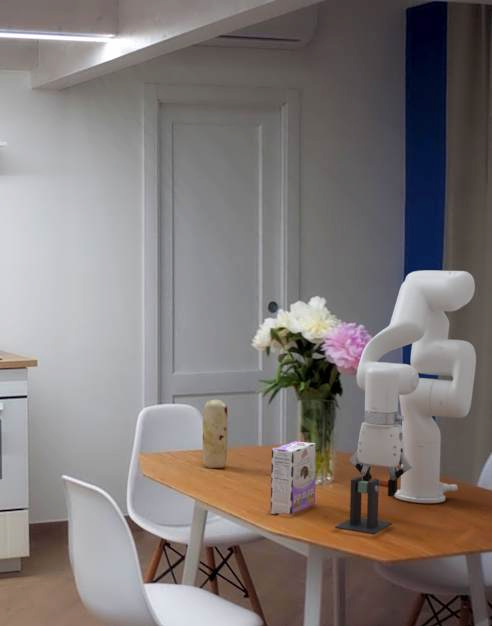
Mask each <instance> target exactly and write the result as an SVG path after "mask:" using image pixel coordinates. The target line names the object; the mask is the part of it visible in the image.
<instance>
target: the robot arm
mask: <svg viewBox="0 0 492 626" xmlns="http://www.w3.org/2000/svg"><path fill="white" fill-rule="evenodd" d="M475 283H476V282H475V279H474V277H473V275H472V274H471V273H469V271H465V270H437V269H436V270H434V269H433V270H432V269H431V270H427V269H426V270H425V269H424V270H415V271H411V272H410V273H408V274H407V275H406V276H405V279H404V281H403V282H402V284H401V285H400V288H399V291H398V294H397V297H396V302H395V304H394V308H393V311H392V315H391V318H390V323H389V324H388V326H386V327H385V328H384V329H382V330H380V331H379V332H378V333H377V334H376V335H374V336H373V337H372V338H371V339H370V340H369V341H368V342H367V343H366V345H365V346H364V348H363V350H362V352H361V355H360V360H359V362H358V366H357V370H356V385H357V386H358V388H359V389H360V390H362V391H364V421H363V422H362V423H361V426H360V429H359V436H358V442H357V450H356V451H355V452H354V453H353V454H352V455H351V456H350V457H349V459H348V460H349V462H350V463H351V464H352V465H353V466H355V468H356V470H357V471H358V472H359V473H360V475H361V477H362V481H367V482H368V481H369V479H373V476H372V474H371V470H372V468H373V467H381V468H387V471H388V473H389V479H388V488H387V496H388V497H392V498H393V496H394V498H396V499H397V500H401V501H403V502H407V503H417V504H440V503H444V502H445V501H446V495H445V494H446V493H447V492H449V493H456V492H458V484H456V483H454V484H452V483H451V484H449V483H444V482H442V481H440V479H441V478H440V477H441V476H440V474H441V443H442V442H441V441H442V440H441V439H442V437H441V436H442V434H441V429H440V427H439V425H438V424H437V422H436V421H435V420H434V418H433V417H438V418H439V417H441V418H450V419H462V418H465V417H466V416H467V415H468V414H469V412H470V410H471V406H472V399H473V390H474V383H475V376H476V375H475V374H476V366H477V365H476V363H477V354H476V350H475V347H474V345H473V344H472V343H471V342H469V341H467V340H462V339H449V331H450V320H449V318H448V316H447V315H446V313H445V312H455V311H458V310H460V309H461V308H463V307H464V306H466V305H467V304H468V303H469V302H470V301H472V299H473V297H474V293H475V291H476V284H475ZM408 345H411V350H410V364H407V363H397V362H395V363H394V362H384V361H383V362H382V361H379V360H380V359H381V358H382V357H383V356H384V355H386V354H388V353H389V352H391V351H393V350H397V349H400V348H402V347H406V346H408ZM419 374H422V375H432V376H442V377H443V376H444V377H452V380H448V379H437V378H426V377H420V376H419ZM399 405H400V412H399ZM400 422H401V424H399V423H400ZM372 466H373V467H372ZM399 466H400V469H398V467H399ZM398 479H400V488H399V489H398Z"/></svg>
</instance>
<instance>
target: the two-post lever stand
mask: <svg viewBox="0 0 492 626" xmlns="http://www.w3.org/2000/svg"><path fill="white" fill-rule="evenodd" d="M372 479H373V478H372ZM379 480H380V479H379V478H374V479H373V480H371V481H369V482H368V493H367V506H366V507H367V509H366V518H365V517H362V494H363V493H360V492H358V482H360V481H363V476H356V477H354V478H351V479H350V498H349V499H350V500H349V501H350V502H349V503H350V505H349V519H347V520H345V521H344V522H341V523H339V524H338V525H336V526H335V527H334V528H335V529H338V530H344V531H345V530H346V531H350V532H356V533H363V534H367V535H376V534H377V533H379V532H381V531H383V530H384V529H386V528H388V527H389V526H391V525H392V524H393V523H392V522H389V521H383V520H379V494H380V493H379V489H380V486H379Z"/></svg>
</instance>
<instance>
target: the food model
mask: <svg viewBox="0 0 492 626" xmlns="http://www.w3.org/2000/svg"><path fill="white" fill-rule="evenodd" d="M228 424H229V420H228V405H227V403H226V402H223V401H222V400H220V399H211V400H207V401H206V402H205V405H204V407H203V411H202V460H203V464H204V466H205V467H207V468H208V469H213V468H219V469H222V468H224V467H226V464H227V456H228V443H229V441H228V436H229V435H228V433H229V429H228V428H229V425H228Z"/></svg>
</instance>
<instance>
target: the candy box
mask: <svg viewBox="0 0 492 626" xmlns="http://www.w3.org/2000/svg"><path fill="white" fill-rule="evenodd" d="M316 445H317V444H316V443H315V442H307V441H298V440H295V441H292V442H289V443H286V444H283V445H280V446H277V447H273V448H272V449H271V470H270V471H271V476H270V511H269V512H270V514H272V515H276V516H278V515H281V514H287V515H293V514H295V513H297V512H300V511H302V510H305V509H307V508H309V507H312V506H314V505H315V504H316V461H317V459H316V458H317V457H316V455H317V453H316V452H317V451H316V450H317V447H316Z"/></svg>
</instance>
